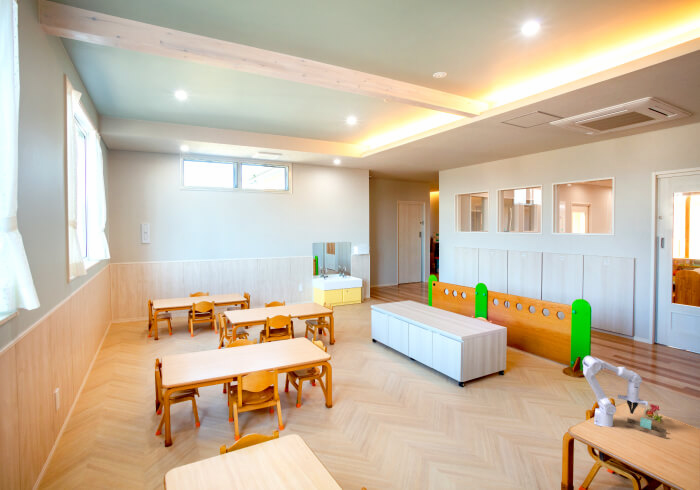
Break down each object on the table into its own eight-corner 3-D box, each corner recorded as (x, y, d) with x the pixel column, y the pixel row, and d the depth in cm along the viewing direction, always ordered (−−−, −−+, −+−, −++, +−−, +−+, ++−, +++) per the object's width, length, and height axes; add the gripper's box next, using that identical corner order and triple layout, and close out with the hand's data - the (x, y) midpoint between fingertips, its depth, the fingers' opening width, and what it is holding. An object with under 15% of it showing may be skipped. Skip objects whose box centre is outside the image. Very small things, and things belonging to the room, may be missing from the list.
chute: (626, 428, 223) (626, 422, 222) (627, 423, 228) (627, 417, 228) (667, 440, 210) (667, 435, 210) (667, 435, 215) (667, 429, 215)
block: (639, 430, 219) (640, 420, 219) (640, 426, 223) (641, 417, 222) (650, 433, 216) (651, 423, 215) (650, 429, 219) (651, 420, 219)
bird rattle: (648, 424, 230) (665, 423, 224) (640, 407, 232) (657, 405, 226) (647, 420, 235) (665, 419, 229) (640, 403, 237) (657, 401, 231)
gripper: (618, 390, 223) (616, 411, 225) (648, 398, 214) (647, 419, 216) (618, 386, 229) (617, 407, 230) (648, 393, 220) (646, 414, 221)
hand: (631, 412), depth 223 cm, fingers closed
